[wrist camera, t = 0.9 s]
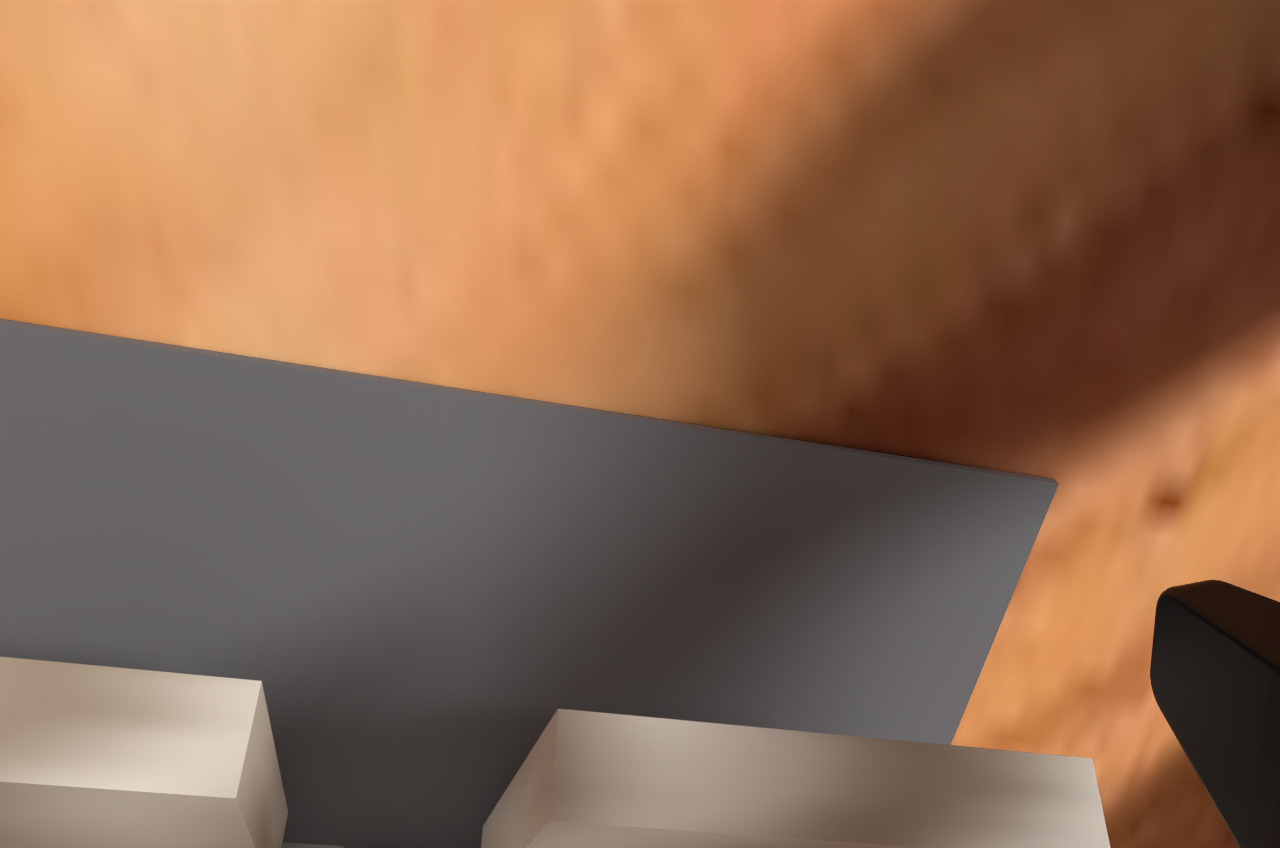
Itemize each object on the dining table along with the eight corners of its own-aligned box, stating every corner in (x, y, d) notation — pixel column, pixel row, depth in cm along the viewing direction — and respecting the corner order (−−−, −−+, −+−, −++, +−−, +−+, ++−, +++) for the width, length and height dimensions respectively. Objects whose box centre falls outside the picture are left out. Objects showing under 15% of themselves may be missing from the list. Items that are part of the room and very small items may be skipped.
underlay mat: (1053, 479, 21) (1058, 483, 21) (775, 1156, 29) (777, 1164, 29) (-320, 269, 16) (-330, 273, 16) (-193, 1149, 24) (-198, 1158, 24)
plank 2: (1092, 758, 16) (1113, 861, 15) (853, 851, 24) (860, 924, 23) (558, 708, 14) (551, 820, 14) (483, 825, 22) (475, 902, 21)
